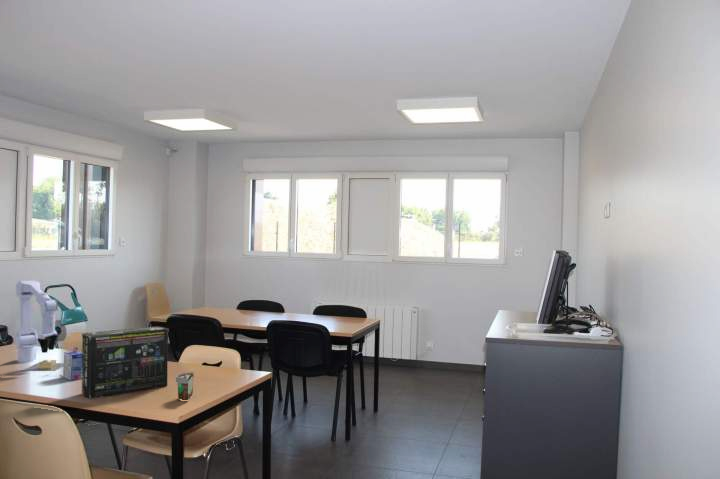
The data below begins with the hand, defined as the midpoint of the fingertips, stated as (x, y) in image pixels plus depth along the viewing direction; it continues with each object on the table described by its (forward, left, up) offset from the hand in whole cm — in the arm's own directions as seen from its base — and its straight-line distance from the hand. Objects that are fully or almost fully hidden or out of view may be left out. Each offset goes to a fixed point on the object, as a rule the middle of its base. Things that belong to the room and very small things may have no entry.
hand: (47, 351), depth 290 cm
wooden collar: (0, 0, -9) cm, 9 cm away
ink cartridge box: (+16, +18, -10) cm, 26 cm away
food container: (+54, +77, -10) cm, 95 cm away
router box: (+39, +49, -10) cm, 64 cm away
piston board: (-3, -2, -10) cm, 10 cm away
